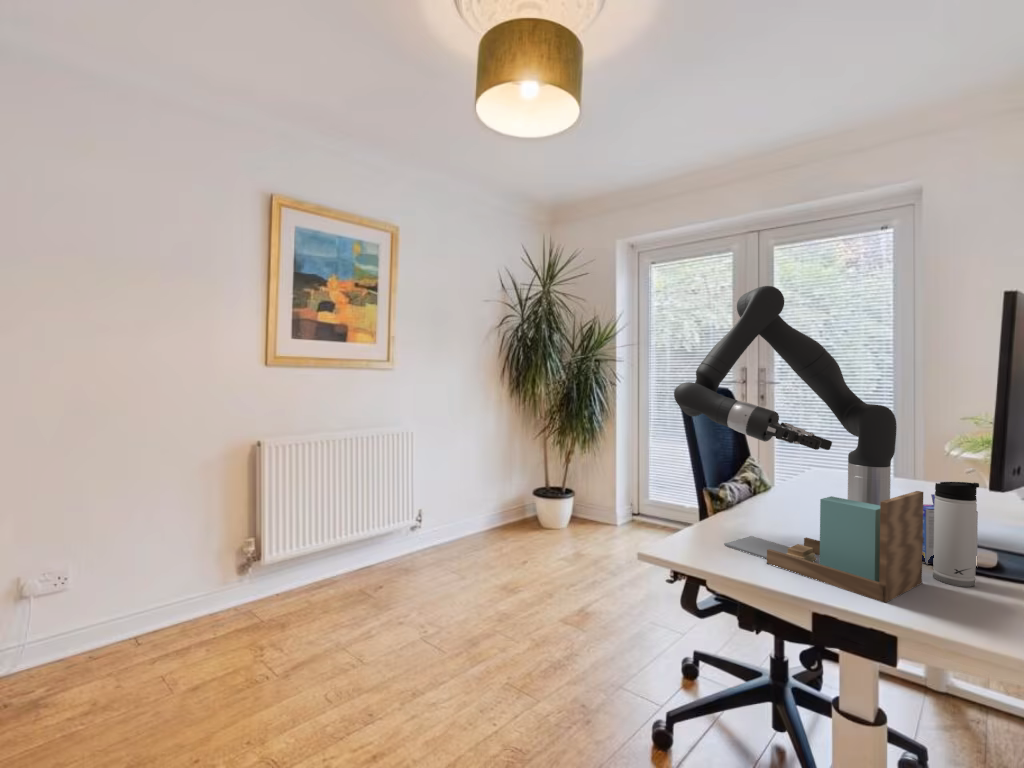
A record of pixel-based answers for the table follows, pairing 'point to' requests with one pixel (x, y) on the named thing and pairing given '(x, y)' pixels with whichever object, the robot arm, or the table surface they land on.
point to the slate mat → (756, 546)
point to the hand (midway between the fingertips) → (825, 445)
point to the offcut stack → (802, 552)
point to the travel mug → (955, 533)
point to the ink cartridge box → (929, 530)
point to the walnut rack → (896, 553)
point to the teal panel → (850, 536)
